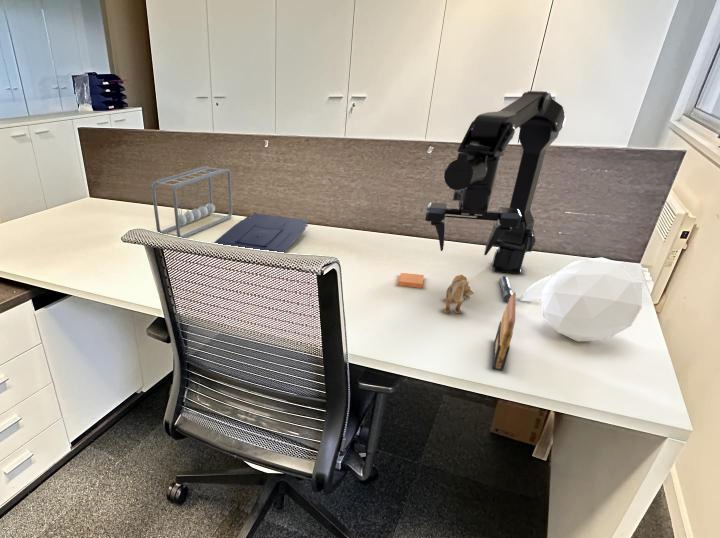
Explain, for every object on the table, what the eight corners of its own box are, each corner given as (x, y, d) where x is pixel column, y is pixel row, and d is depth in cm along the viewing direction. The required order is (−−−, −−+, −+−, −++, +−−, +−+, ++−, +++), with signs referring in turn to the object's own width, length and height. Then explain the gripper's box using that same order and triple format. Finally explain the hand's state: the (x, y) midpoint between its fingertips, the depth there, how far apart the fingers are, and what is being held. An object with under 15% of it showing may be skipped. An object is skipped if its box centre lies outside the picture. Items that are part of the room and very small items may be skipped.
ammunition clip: (493, 342, 102) (509, 290, 95) (503, 344, 101) (519, 291, 95) (491, 368, 94) (508, 313, 87) (502, 371, 93) (519, 315, 87)
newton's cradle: (211, 213, 188) (208, 164, 178) (233, 217, 182) (231, 167, 173) (156, 235, 168) (149, 182, 158) (179, 240, 163) (173, 185, 153)
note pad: (423, 279, 130) (424, 274, 129) (422, 288, 125) (422, 283, 124) (399, 276, 132) (400, 272, 131) (397, 285, 127) (398, 281, 126)
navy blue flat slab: (314, 228, 164) (314, 218, 161) (275, 270, 144) (275, 258, 142) (250, 220, 174) (250, 210, 172) (206, 257, 155) (205, 247, 152)
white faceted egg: (630, 261, 85) (615, 217, 106) (497, 309, 100) (506, 262, 120) (665, 338, 88) (644, 281, 109) (531, 374, 103) (534, 317, 124)
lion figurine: (468, 321, 109) (477, 285, 105) (442, 319, 111) (450, 282, 106) (463, 294, 121) (471, 260, 116) (441, 292, 123) (448, 258, 118)
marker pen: (509, 278, 125) (503, 273, 125) (516, 298, 115) (509, 293, 115) (502, 283, 127) (496, 278, 126) (508, 304, 117) (502, 299, 116)
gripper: (524, 175, 106) (505, 245, 114) (434, 171, 112) (422, 237, 120) (530, 187, 97) (509, 261, 105) (431, 182, 103) (419, 252, 111)
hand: (463, 252), depth 111 cm, fingers open, 9 cm apart
